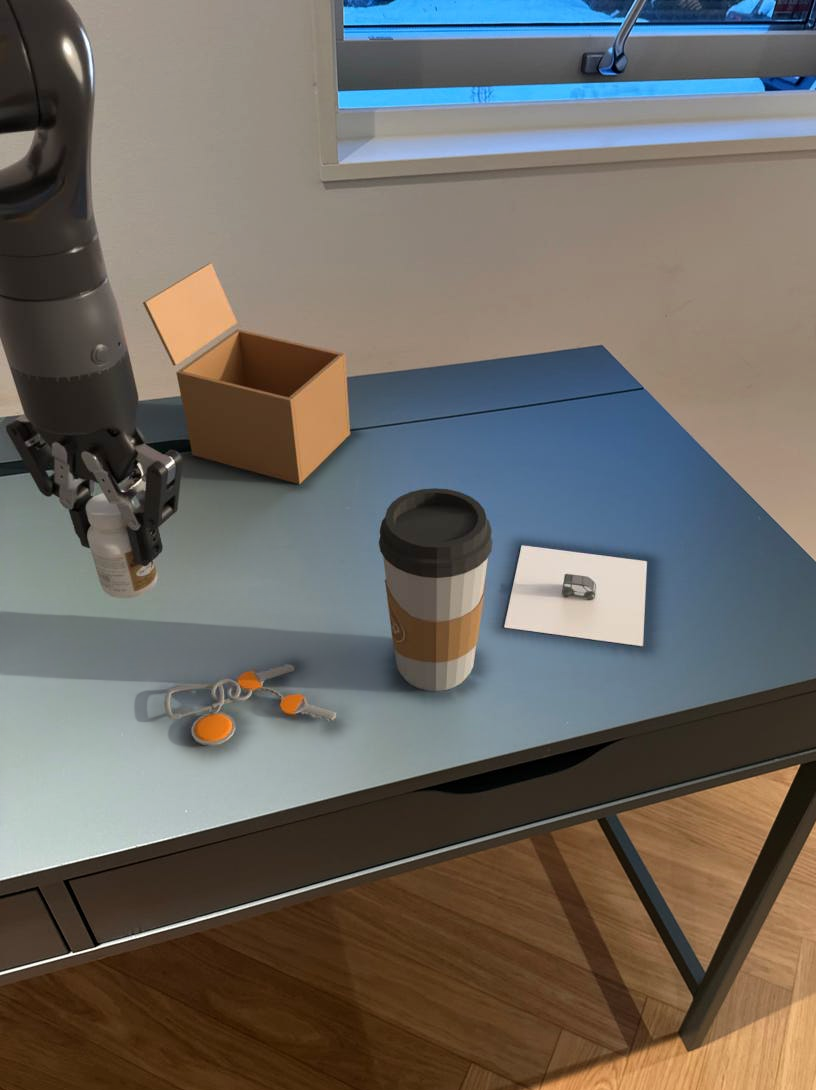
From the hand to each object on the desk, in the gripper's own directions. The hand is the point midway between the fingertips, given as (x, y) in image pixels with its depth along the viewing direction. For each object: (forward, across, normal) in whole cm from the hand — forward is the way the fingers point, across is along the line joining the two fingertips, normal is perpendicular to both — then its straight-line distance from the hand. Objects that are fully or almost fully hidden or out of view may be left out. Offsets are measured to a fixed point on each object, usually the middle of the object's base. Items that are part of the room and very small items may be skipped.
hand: (121, 550), depth 74 cm
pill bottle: (+4, 0, 0) cm, 4 cm away
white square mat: (+8, -32, -20) cm, 39 cm away
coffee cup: (+8, -24, -6) cm, 26 cm away
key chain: (+8, -13, +4) cm, 16 cm away
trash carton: (+9, +6, -30) cm, 32 cm away
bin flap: (-5, +13, -30) cm, 33 cm away
